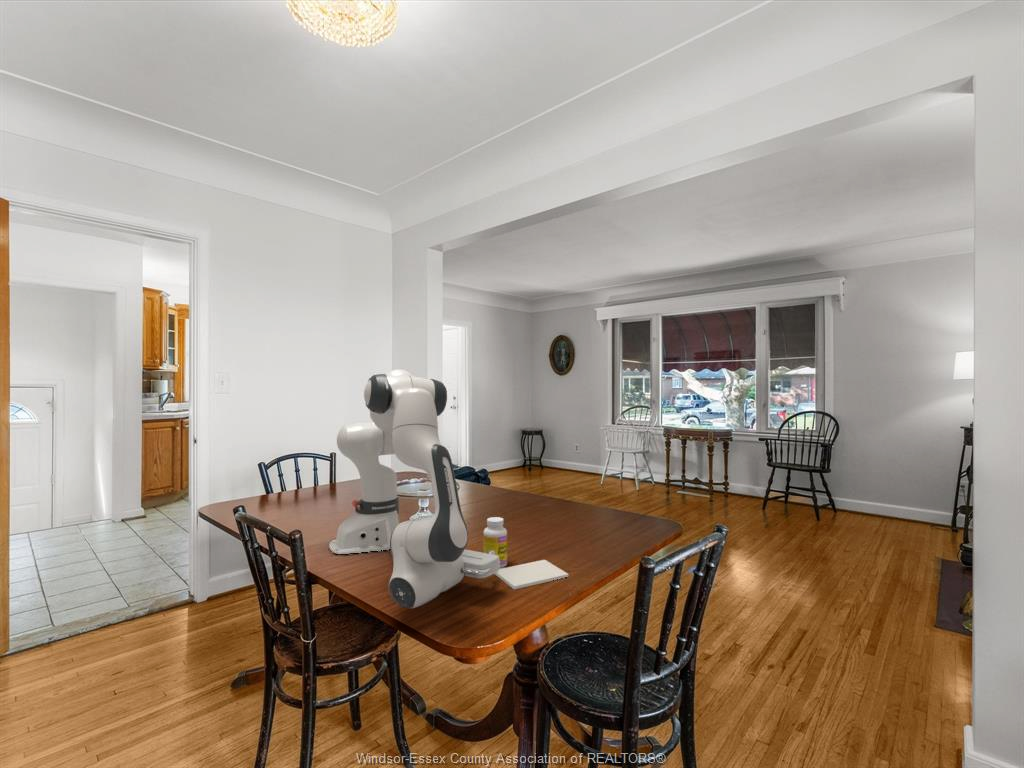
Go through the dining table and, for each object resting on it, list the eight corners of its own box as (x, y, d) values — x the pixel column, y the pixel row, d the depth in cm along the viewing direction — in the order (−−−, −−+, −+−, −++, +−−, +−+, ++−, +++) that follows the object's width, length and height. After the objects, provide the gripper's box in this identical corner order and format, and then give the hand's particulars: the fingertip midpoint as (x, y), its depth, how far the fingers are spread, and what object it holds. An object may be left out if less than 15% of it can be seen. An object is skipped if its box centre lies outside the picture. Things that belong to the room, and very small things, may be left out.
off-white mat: (514, 589, 121) (514, 586, 121) (493, 573, 132) (493, 570, 132) (568, 577, 128) (568, 574, 128) (544, 562, 139) (544, 559, 139)
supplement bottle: (498, 571, 133) (498, 523, 133) (478, 566, 136) (478, 520, 136) (511, 563, 139) (511, 518, 139) (492, 559, 142) (492, 514, 142)
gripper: (482, 562, 112) (511, 544, 125) (412, 548, 122) (446, 533, 134) (482, 589, 112) (511, 569, 125) (413, 573, 122) (446, 556, 134)
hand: (477, 550), depth 130 cm, fingers open, 8 cm apart
